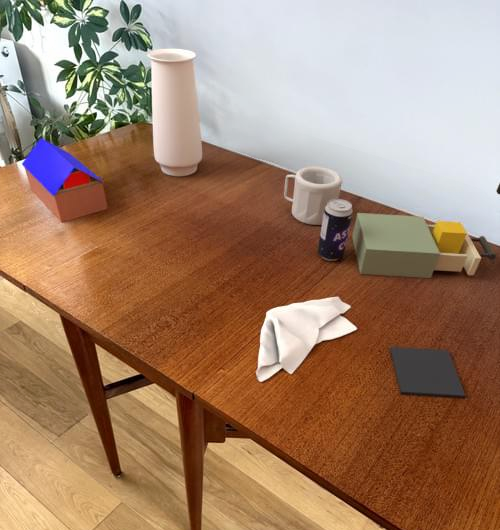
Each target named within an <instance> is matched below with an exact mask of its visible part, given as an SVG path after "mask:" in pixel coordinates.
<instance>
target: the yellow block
mask: <svg viewBox="0 0 500 530" xmlns="http://www.w3.org/2000/svg"><path fill="white" fill-rule="evenodd" d="M434 225H435V228H434V231H433V234H432V237H433V239H434V241H435V243H436V246H437V248H438V250H439V252H440V253H454V254H459V251H460V249H461V247H462V244H463V242H464V239H465V237H466V234H468V232H467V231H465V230H466V229H464V228H465V227H464V225H463V224H462V222H461V221H444V220H436V223H435V224H434ZM462 225H463V226H462ZM463 227H464V228H463ZM466 232H467V233H466Z"/></svg>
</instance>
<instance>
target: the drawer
mask: <svg viewBox="0 0 500 530" xmlns="http://www.w3.org/2000/svg"><path fill="white" fill-rule="evenodd" d="M426 224H427V223H426ZM435 225H436V224H427V226H428V228H429V230H430V232H431V235H432V234H433V231H434V228H435ZM462 226H463V228H464V229H465V227H464V225H463V224H462ZM465 231H466V229H465ZM466 233H467V234H466V237H465V239H464V242H463V244H462V247H461V249H460V251H459V254H454V253H440V255H439V258H438V260H437V263H436V266H435V268H434V271H444V272H445V271H446V272H459V273H461V272H462V271H463V269H464V270H465V272H466V275H467V276H474V275H475V273H476V271H477V269H478V267H479V265H480V262H481V260H482V258H488V260H492V261H493V260H494V259H495V258H496V256H497V255H496V253H495V252H494V250H493V249H492V247H491V245H490V243H489V241H488V240H487V238H486V236H484V235H481V236H479V237H470V235H469V233H468V232H467V231H466ZM473 242H477V243H479V244H480V246H481V248H482V250H483V252H479V251H478V249H477V248H476V246H475V245H474V243H473Z"/></svg>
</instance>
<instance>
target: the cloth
mask: <svg viewBox="0 0 500 530" xmlns="http://www.w3.org/2000/svg"><path fill="white" fill-rule="evenodd" d="M351 308H352V306H351V305H350V304H348V303H346V302H344V301H342V299H341V298H340V297H339V296H334V297H333V296H332V297H326V298H321V299H311V300H307V301H304V302H293V303H289V304H288V305H282V306H277V307H273V308H271V309H269V310H268V311H266V313H265V314H266V315H265V319H264V322H263V325H262V327H261V330H260V335H259V337H260V338H259V343H260V345H259V350H258V356H257V369H256V370H255V374H256V379H257V381H258V382H259V383H262V382H264V381H267V380H268V379H270V378H271V377H273V376H274V375H275V374H276V373H278V372H279V371H280V370H281V369H283V370H284V371H286V372H287V373H288V374H289V375H292V374H293V373H294V372H295V371H296V370H297V368H299V367H300V365H301V364H302V363H303V361H305V359H306V358H307V356H308V355H309V354H310V352H311V351H312V349H313V348H314V347H315V345H317V344H320V343H322V342H323V341H331V340H335V339H338V338H341V337H343V336H346V335H349V334H351V333H352V332H355V331H357V330H358V328H357V326H355V325H354V324H353V323H352V322H351V321H350V320H349V319H347V318H346V317H344V316H342V315H343V314H345V313H346V312H347V311H349V309H351Z"/></svg>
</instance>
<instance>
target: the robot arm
mask: <svg viewBox="0 0 500 530" xmlns="http://www.w3.org/2000/svg"><path fill="white" fill-rule="evenodd" d="M496 194H498V195H500V182H499V184H498V186H497V188H496Z"/></svg>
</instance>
